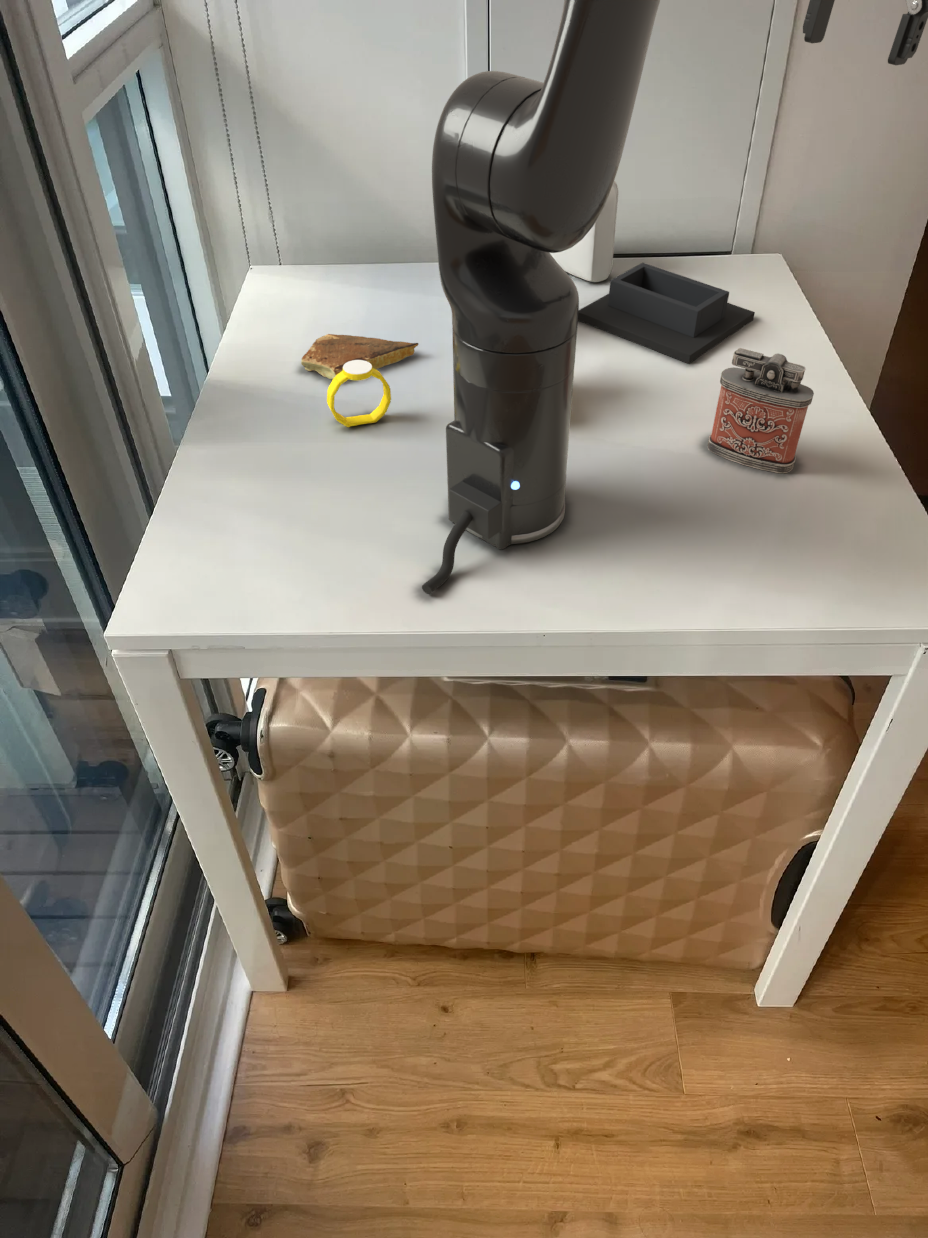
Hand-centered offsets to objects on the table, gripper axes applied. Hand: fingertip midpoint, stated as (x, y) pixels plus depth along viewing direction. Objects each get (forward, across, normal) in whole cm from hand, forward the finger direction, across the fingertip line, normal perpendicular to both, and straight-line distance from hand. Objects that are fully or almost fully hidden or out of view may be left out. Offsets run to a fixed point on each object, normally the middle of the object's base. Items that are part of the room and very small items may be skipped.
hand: (853, 52), depth 84 cm
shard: (+32, -27, -35) cm, 55 cm away
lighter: (+29, +12, -19) cm, 37 cm away
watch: (+32, -16, -42) cm, 55 cm away
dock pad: (+28, -10, -4) cm, 30 cm away
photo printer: (+28, -27, -2) cm, 39 cm away
